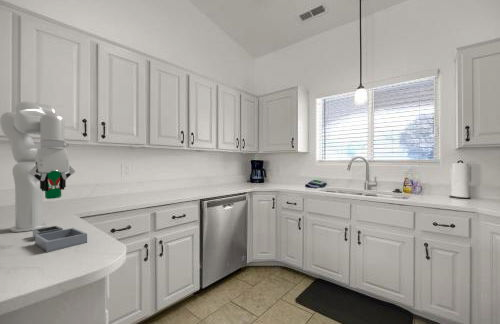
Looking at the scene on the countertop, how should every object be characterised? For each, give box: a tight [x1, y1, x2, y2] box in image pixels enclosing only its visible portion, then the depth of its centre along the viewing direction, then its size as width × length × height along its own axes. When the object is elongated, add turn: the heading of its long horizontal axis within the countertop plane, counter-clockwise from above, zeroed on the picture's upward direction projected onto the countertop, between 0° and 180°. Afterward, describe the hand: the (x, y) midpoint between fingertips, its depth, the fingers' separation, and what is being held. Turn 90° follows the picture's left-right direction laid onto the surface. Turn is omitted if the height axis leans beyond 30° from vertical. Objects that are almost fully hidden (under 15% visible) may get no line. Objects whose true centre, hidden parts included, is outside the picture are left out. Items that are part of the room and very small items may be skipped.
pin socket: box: [32, 225, 64, 239], centre depth 97 cm, size 8×8×3 cm
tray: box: [34, 227, 88, 253], centre depth 88 cm, size 14×12×4 cm
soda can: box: [44, 170, 62, 200], centre depth 93 cm, size 5×5×12 cm
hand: (53, 189), depth 93 cm, fingers closed on soda can, 5 cm apart
